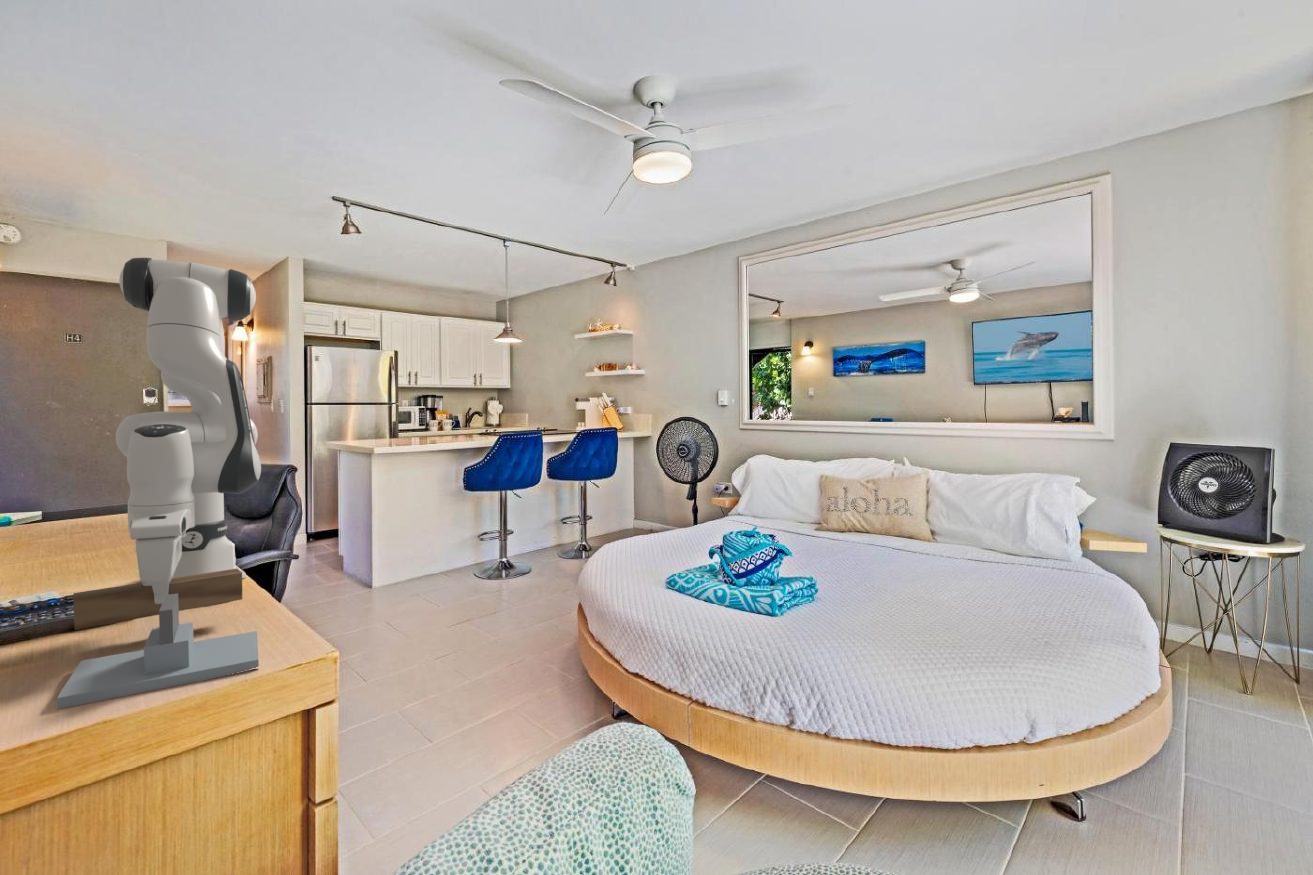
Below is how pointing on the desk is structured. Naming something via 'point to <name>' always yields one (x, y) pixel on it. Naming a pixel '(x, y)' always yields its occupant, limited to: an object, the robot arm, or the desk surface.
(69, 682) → the ridge stand
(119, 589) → the bar
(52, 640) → the desk surface
